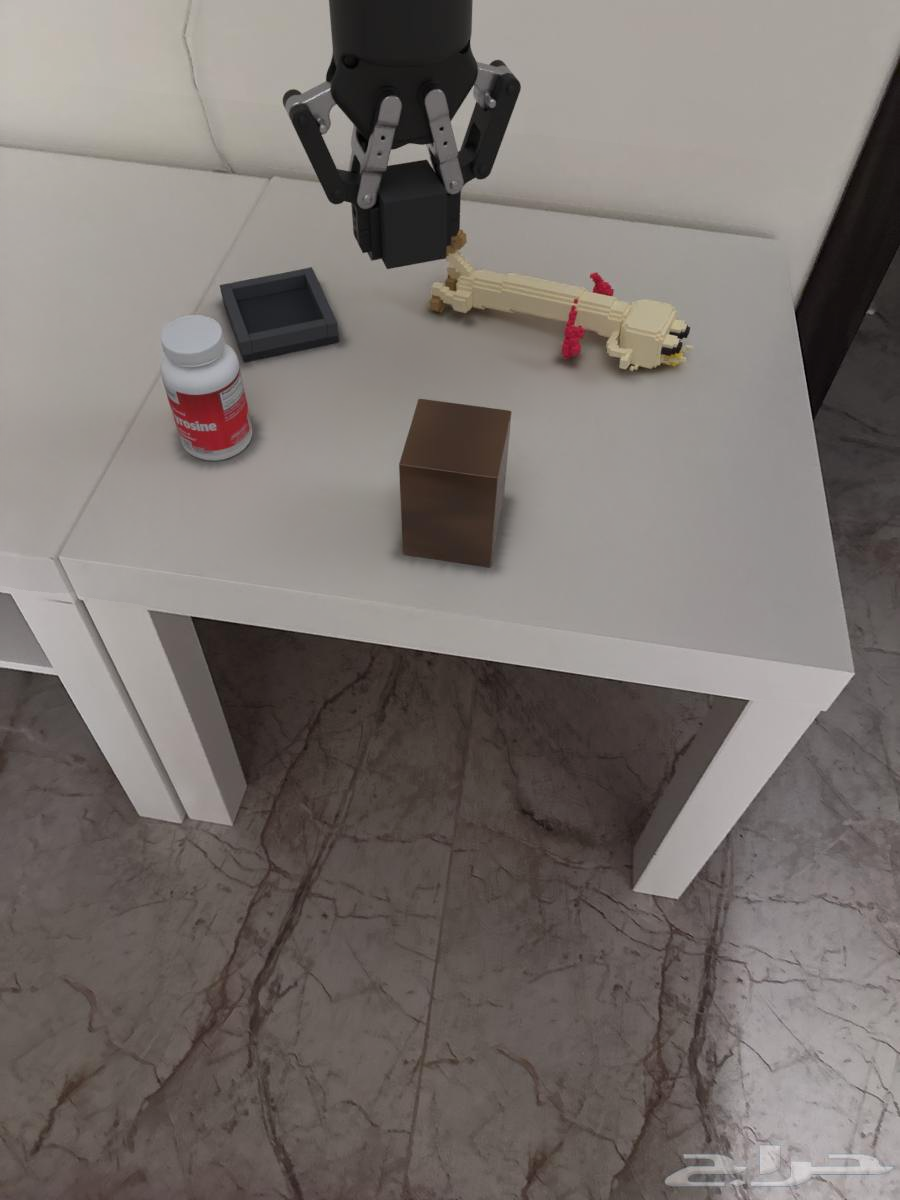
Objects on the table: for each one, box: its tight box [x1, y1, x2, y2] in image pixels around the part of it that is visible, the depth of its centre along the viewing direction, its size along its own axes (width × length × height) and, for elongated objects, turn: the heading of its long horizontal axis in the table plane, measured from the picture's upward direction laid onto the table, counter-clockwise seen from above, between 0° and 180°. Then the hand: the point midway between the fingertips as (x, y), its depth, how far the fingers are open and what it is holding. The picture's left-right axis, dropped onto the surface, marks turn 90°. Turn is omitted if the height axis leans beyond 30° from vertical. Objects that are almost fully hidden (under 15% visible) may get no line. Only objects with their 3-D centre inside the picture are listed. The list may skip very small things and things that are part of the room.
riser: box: [398, 398, 513, 568], centre depth 70 cm, size 7×7×10 cm
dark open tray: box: [219, 266, 340, 363], centre depth 89 cm, size 9×9×2 cm
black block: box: [377, 159, 447, 270], centre depth 58 cm, size 4×4×4 cm
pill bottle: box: [159, 314, 253, 462], centre depth 76 cm, size 6×6×11 cm
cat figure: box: [428, 229, 693, 372], centre depth 86 cm, size 10×9×25 cm
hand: (406, 245), depth 60 cm, fingers closed on black block, 4 cm apart
